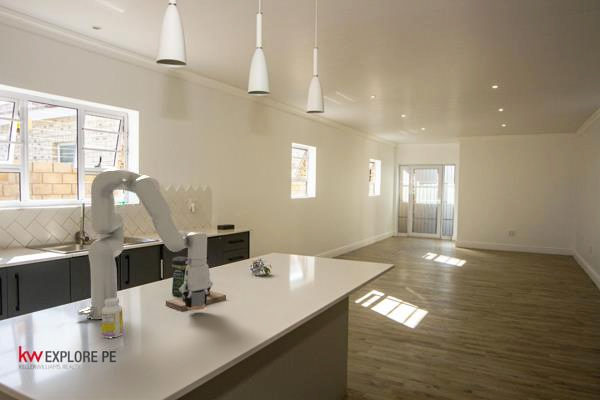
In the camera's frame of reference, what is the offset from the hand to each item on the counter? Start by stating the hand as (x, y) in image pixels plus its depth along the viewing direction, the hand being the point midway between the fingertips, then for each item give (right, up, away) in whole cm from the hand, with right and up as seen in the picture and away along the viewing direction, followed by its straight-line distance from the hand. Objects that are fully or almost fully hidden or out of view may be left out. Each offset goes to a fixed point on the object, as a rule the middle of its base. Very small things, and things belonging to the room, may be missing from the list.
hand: (196, 304), depth 170 cm
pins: (-4, -1, +16) cm, 17 cm away
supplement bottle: (-23, -5, -25) cm, 35 cm away
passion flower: (+19, -1, +74) cm, 77 cm away
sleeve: (0, -1, 0) cm, 1 cm away
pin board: (-4, -3, +16) cm, 17 cm away
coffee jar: (-14, -3, +29) cm, 32 cm away
